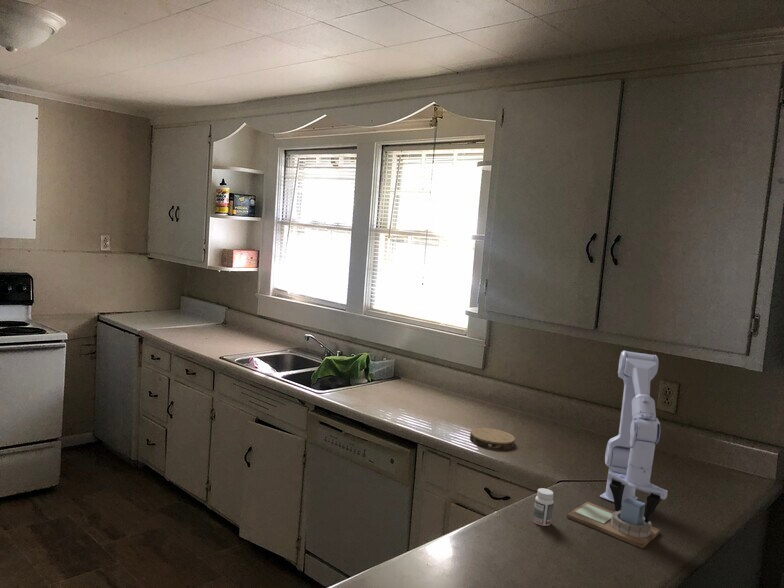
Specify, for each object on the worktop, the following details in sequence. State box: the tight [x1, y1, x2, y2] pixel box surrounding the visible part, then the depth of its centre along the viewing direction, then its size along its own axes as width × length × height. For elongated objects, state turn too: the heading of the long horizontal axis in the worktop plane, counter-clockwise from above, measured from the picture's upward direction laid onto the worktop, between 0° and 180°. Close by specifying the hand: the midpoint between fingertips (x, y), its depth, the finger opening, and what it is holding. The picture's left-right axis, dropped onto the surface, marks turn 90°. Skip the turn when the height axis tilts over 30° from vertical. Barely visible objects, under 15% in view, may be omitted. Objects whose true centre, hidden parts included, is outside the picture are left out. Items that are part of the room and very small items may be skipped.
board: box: [566, 501, 661, 549], centre depth 161 cm, size 13×20×4 cm, turn 48°
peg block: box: [620, 497, 646, 526], centre depth 157 cm, size 4×4×7 cm
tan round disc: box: [469, 427, 516, 451], centre depth 219 cm, size 16×16×3 cm
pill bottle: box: [532, 487, 555, 527], centre depth 158 cm, size 5×5×8 cm
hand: (632, 515), depth 157 cm, fingers open, 7 cm apart
